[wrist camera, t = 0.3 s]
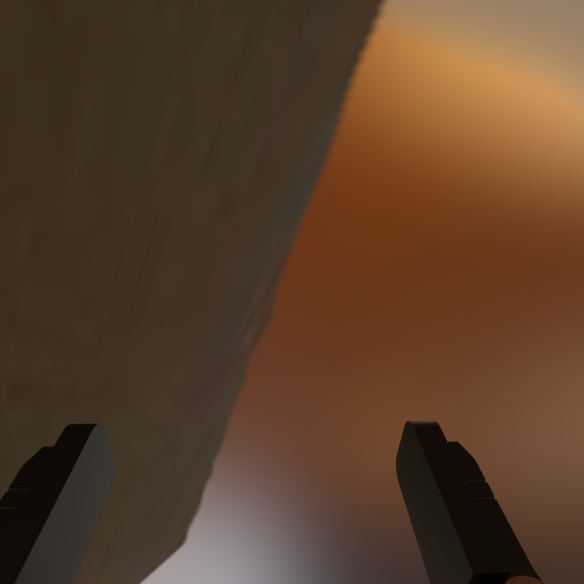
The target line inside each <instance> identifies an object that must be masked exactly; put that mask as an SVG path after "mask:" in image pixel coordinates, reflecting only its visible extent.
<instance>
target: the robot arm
mask: <svg viewBox="0 0 584 584" xmlns="http://www.w3.org/2000/svg"><path fill="white" fill-rule="evenodd" d="M396 471H397V477H398V481H399V485H400V488H401V491H402V494H403V498H404V501H405V504H406V507H407V510H408V514H409V517H410V520H411V523H412V526H413V530H414V533H415V536H416V539H417V542H418V545H419V549H420V552H421V555H422V558H423V561H424V565H425V568H426V571H427V574H428V577H429V580H430V584H546V583H544V582H543V581H542V580H541V579H540V578H539V576H538V575H537V574H536V572H535V571H534V569H533V567H532V566H531V564H530V562H529V560H528V558H527V556H526V554H525V552H524V551H523V549H522V547H521V545H520V543H519V541H518V539H517V537H516V536H515V534H514V532H513V530H512V528H511V526H510V524H509V523H508V521H507V519H506V517H505V515H504V513H503V511H502V509H501V508H500V506H499V504H498V502H497V500H495V499H494V494H493V492H492V491H491V489H490V487H489V485H488V483H486V482H485V477H484V476H483V474H482V472H481V470H480V468H479V466H478V464H477V462H476V461H475V459H474V458H473V457H472V456H471V455H470V454H469V453H468V452H467V451H466V450H465V449H464V448H463V446H461V444H459V442H447V440H446V438H445V436H444V434H443V432H442V430H441V428H440V426H439V424H438V423H437V422H435V421H407V422H406V423H405V426H404V430H403V434H402V438H401V441H400V445H399V449H398V453H397V457H396ZM113 476H114V460H113V456H112V453H111V450H110V446H109V443H108V440H107V436H106V433H105V430H104V427H103V425H102V424H70V425H68V426H67V427H66V428H65V429H64V430H63V432H62V433H61V435H60V437H59V439H58V440H57V442H56V444H55V445H54V447H43V448H42V449H40V450H39V451H38V452H37V453H36V454H35V455H34V456H33V457H32V458H31V459H29V460H28V461H27V462H26V463H25V464H24V465H23V466H22V468H21V469H20V471H19V472H18V474H17V475H16V477H15V479H14V480H13V482H12V483H11V485H10V486H9V490H8V492H6V493H5V494H4V496H3V497H2V499H1V500H0V584H73V582H74V579H75V577H76V574H77V572H78V569H79V567H80V564H81V561H82V559H83V556H84V554H85V551H86V549H87V546H88V544H89V541H90V539H91V536H92V533H93V531H94V528H95V526H96V523H97V521H98V518H99V516H100V513H101V511H102V508H103V505H104V503H105V500H106V498H107V495H108V493H109V490H110V488H111V485H112V481H113Z"/></svg>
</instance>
